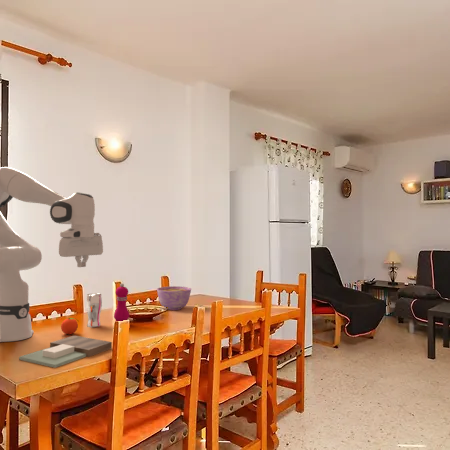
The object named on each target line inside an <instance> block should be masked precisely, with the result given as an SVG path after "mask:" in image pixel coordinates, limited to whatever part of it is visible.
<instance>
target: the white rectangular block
mask: <svg viewBox="0 0 450 450" xmlns="http://www.w3.org/2000/svg"><path fill="white" fill-rule="evenodd" d="M47 348H48V349H46V348H44V349H45V350H43V349H42V350H43V356H46V357H50V358H57V357H60V356H63V355H66V354H69V353H72V352H74V346H70V345H65V344H61V345H58V346H55V347H52V348H50V347H47Z"/></svg>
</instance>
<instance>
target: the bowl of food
mask: <svg viewBox="0 0 450 450" xmlns="http://www.w3.org/2000/svg"><path fill="white" fill-rule="evenodd" d="M156 291H157V296H158V297H157V298H158V300H159V303H160V305H161V307H163V306H164V307H163V308H165V307H168V309H167V310H168V311H169V310H170V311H176V310H177V311H178V310H181V309H183V308H184V307H186V306H187V305H188V303H189V300H190V297H191V292H192V288H191V287H189V286H174V285H173V286H162V287H158V288H156Z"/></svg>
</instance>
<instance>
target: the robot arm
mask: <svg viewBox="0 0 450 450" xmlns="http://www.w3.org/2000/svg"><path fill="white" fill-rule="evenodd" d="M13 198H14V199H15V200H18V201H22V202H25V203H30V204H31V203H32V204H40V205H47V206H49V207H50V209H49V216H50V218H51V220H52V221H53V222H54V223H56V224H59V225H70V226H71V227H70V228H67V229H65V230H63V231H60V234H59V235H60V237H61V238H60V239H59V244H58V254H59V257H61V258H62V257H65V258H70V257H73V258H74V259H75V261H76V263H77V266H76V267H77V268H85V267H87V262H88V260H89V258H90V257H89V256H97V255H98V256H101V255H102V254H103V252H104V245H103V238H102V237H103V236H102V235H101V234H100V232H95V222H94V218H95V215H96V213H95V211H96V208H95V199H94V197H93V196H92V194H89V193H83V192H74V193H73V194H72V195H71V196H69V197H66V196H64V195H62V194H60V193H57V192H56V191H54V190H52V189H50V188H49V187H47V186H45V185H44V184H42V183H40V182H39V181H37V179H34V178H33V177H31V176H30V175H28V174H27V173H24V172H23V171H21V170H18V169H16V168H13V167H9V166H4V167H3V166H2V167H0V208H4V207H5V206H7V204H8V203H10V202H11V201H12V199H13ZM42 257H43V255H42V252H41V250H40V248H39V247H37V246H35V245H33V244H31V243H29V242H27V241H26V240H25V239H24V238H23V237H22V236H20V235H19V234H18V233H17V232H16V231H15V230H14V229H13V228H12V226H11V225H10V223H9V222H8V221H7V219H6V217H5V216H4V215H3V213H2V212H1V211H0V343H3V342H4V343H6V342H7V343H8V342H17V341H23V340H26V339H29V338H31V337H32V336H33V334H34V330H33V329H32V319H31V318H32V317H31V314H30V303H29V285H28V283H27V282H26V281H24V280H23V279H22V277H21V274H20V271H26V270H31V269H33V268H36V267H38V266H39V265H40V264H41V262H42V259H43V258H42Z"/></svg>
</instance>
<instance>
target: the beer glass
mask: <svg viewBox="0 0 450 450" xmlns="http://www.w3.org/2000/svg"><path fill="white" fill-rule="evenodd" d="M102 303H103V297H102V293H96V292H95V293H93V292H92V293H88V294H86V311H87V325H86V326H87V328H99V327H100V326H101V319H100V318H101V312H102V306H103V305H102Z"/></svg>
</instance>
